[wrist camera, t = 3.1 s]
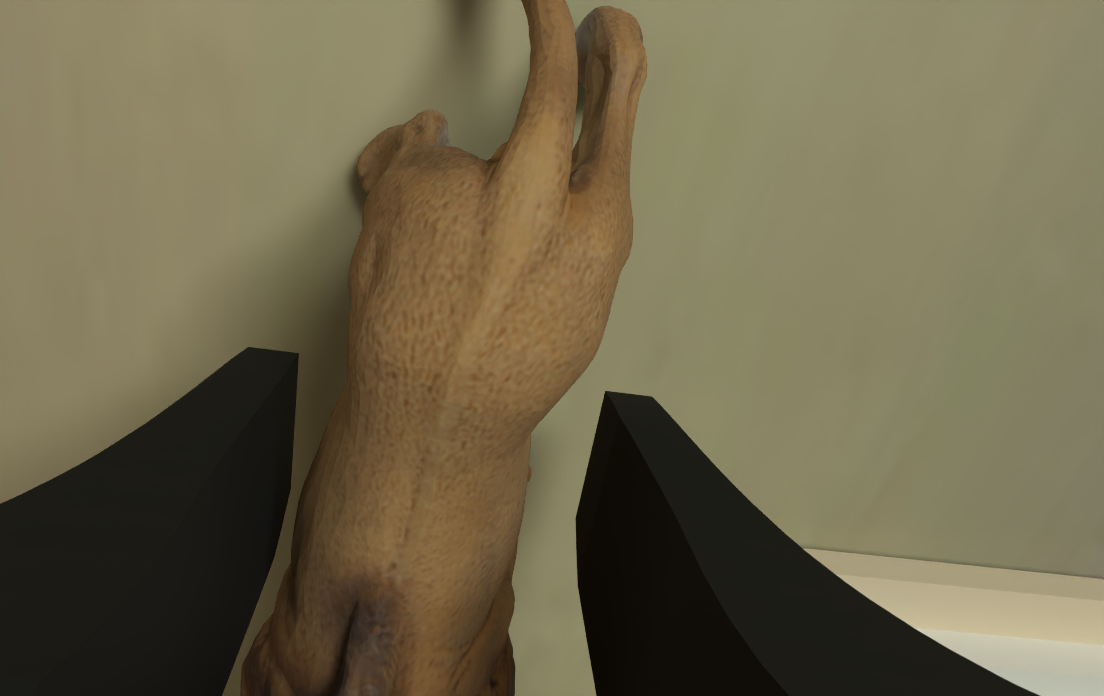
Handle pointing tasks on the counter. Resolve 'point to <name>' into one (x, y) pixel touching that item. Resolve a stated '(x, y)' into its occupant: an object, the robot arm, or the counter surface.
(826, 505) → the counter surface
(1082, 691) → the picture frame
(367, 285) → the lion figurine
